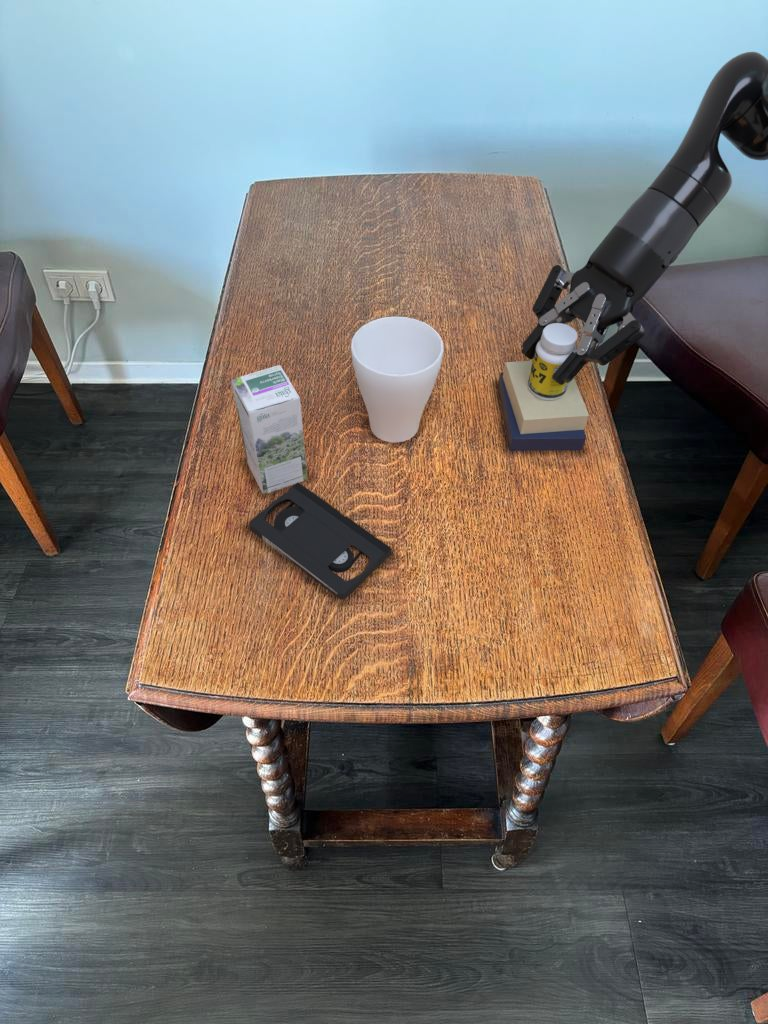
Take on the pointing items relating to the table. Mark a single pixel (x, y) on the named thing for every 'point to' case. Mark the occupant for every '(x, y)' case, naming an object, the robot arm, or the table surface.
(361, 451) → the table surface
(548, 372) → the supplement bottle
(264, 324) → the table surface
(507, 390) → the book stack
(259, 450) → the syrup box
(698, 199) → the robot arm
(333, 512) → the vhs tape
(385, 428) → the cup
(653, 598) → the table surface
